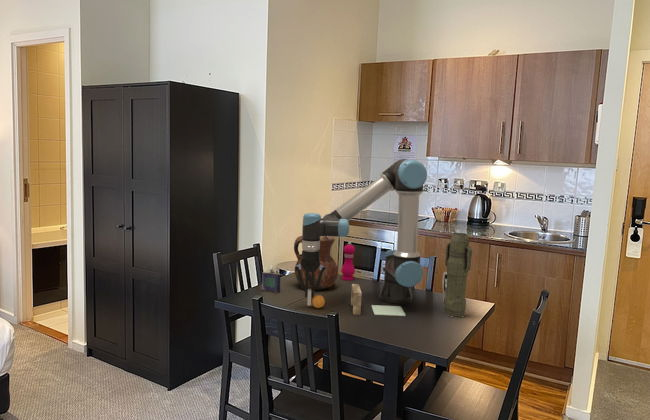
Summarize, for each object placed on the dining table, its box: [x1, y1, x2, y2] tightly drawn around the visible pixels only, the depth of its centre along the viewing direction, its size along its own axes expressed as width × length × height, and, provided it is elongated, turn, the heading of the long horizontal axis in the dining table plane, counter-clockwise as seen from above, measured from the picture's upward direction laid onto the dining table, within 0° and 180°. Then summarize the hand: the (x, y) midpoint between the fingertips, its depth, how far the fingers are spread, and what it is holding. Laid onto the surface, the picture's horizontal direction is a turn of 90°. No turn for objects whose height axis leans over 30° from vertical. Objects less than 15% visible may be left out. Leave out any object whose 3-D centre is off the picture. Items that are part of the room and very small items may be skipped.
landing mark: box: [371, 304, 406, 317], centre depth 223 cm, size 13×13×1 cm
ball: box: [311, 294, 326, 309], centre depth 222 cm, size 6×6×6 cm
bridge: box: [350, 283, 363, 316], centre depth 223 cm, size 3×14×9 cm, turn 1°
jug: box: [293, 235, 339, 291], centre depth 256 cm, size 22×21×25 cm
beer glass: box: [441, 271, 447, 306], centre depth 234 cm, size 7×7×15 cm
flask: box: [261, 268, 281, 294], centre depth 244 cm, size 9×3×11 cm, turn 71°
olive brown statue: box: [443, 232, 473, 318], centre depth 220 cm, size 9×12×35 cm
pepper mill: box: [340, 241, 356, 282], centre depth 275 cm, size 7×7×20 cm
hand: (309, 304), depth 222 cm, fingers closed
